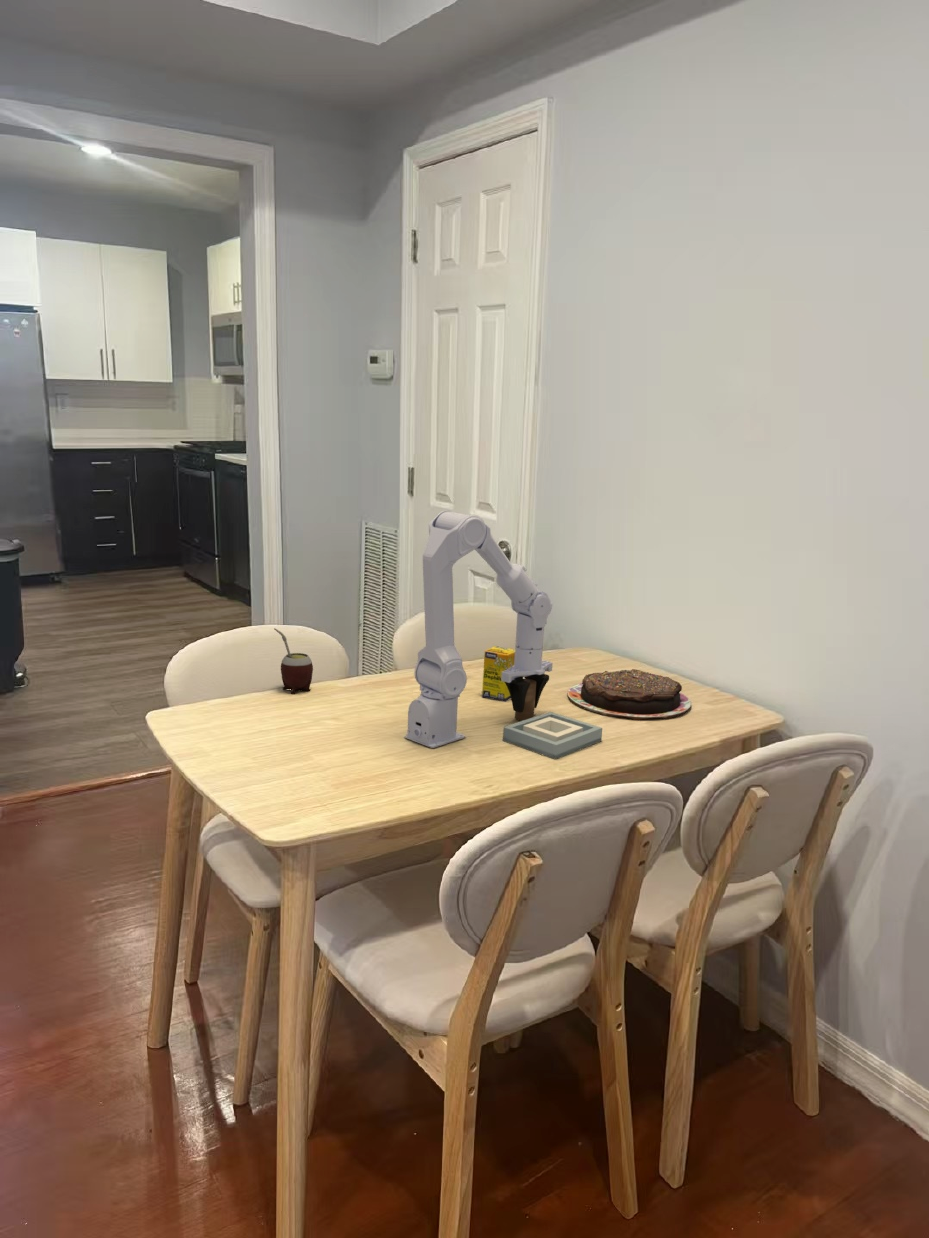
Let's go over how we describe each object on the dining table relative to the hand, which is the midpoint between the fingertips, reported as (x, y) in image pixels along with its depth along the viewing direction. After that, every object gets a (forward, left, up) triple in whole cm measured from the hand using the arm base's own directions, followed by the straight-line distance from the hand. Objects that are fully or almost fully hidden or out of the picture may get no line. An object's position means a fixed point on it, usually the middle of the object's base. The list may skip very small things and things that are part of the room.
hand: (524, 709), depth 191 cm
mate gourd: (-25, +46, -3) cm, 52 cm away
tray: (-6, -12, -2) cm, 14 cm away
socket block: (-6, -12, -2) cm, 14 cm away
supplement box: (+8, +14, -3) cm, 16 cm away
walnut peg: (0, 0, -2) cm, 2 cm away
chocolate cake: (+29, -7, -3) cm, 30 cm away
